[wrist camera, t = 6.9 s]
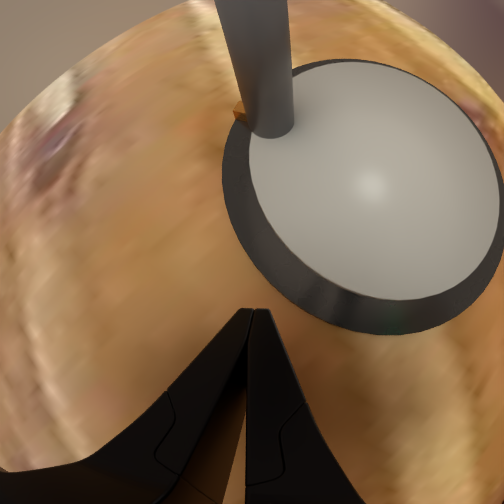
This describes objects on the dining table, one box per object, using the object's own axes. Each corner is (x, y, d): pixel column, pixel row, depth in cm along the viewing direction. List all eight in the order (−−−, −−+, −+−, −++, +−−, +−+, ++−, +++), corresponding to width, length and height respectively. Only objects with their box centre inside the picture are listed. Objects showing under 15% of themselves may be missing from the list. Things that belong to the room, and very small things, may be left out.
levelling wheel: (513, 278, 14) (650, 228, 1) (262, 317, 16) (152, 313, 3) (443, 78, 18) (486, -30, 5) (244, 77, 20) (206, -65, 8)
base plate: (526, 187, 16) (538, 178, 14) (389, 403, 15) (400, 412, 13) (348, 40, 22) (349, 25, 20) (165, 175, 20) (154, 162, 18)
